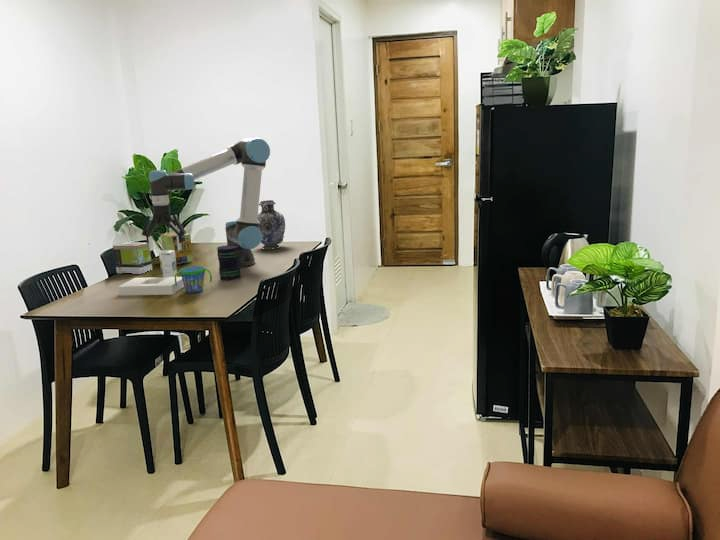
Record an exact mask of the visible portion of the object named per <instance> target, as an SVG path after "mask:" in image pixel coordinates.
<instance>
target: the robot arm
mask: <svg viewBox="0 0 720 540" xmlns="http://www.w3.org/2000/svg"><path fill="white" fill-rule="evenodd" d="M270 155H271V148H270V145H269V144H268V142H267V141H266V140H265V139H262V138H259V137H245V138H243V139H241V140H239V141H238V142H235V143H233V144H231V145H229V146H227V147H226V149H225V150H222V151H221V152H217V153H215V154H213V155H210V156H209V157H206V158H203V159H201V160H199V161H196V162H193V163H192V164H190V165H189V164H188V165H187V166H184V167H182V168H180V169H178V170H175V171H170V172H168V173H167V171H166V170H165V169H160V170H159V169H158V170H151V171H150V172H149V178H148V179H149V182H148V183H149V185H150V186H149V188H150V194H151V196H150V197H151V203H152V213H153V215H151V214H149V215H148V214H147V215H146V221H145V224H144V227H143V230H142V233H141V236H144V237H146V243H147V244H149V249H150V252H152V251H154V239H153V235H152V233H154V231H155V230H156V228H157V227H158V226H161V225H163V226H166V225H167V226H169V228H170V229H172V232H175V233H176V234H177V235H178V236H177V246H178V250H181V249H182V247H181V243H182V242H183V238H182V236H183V235H184V234H186V233H187V232H186V230H185V228H184V226H183V224H182V222H181V221H180V219H179V217H178V214H174V215H171V206H170V197H169V192H172V191H188V190H192V189H194V188H195V181H197V180H198V179H201V178H203V177H206V176H208V175H210V174H212V173H213V174H214V173H215V172H217V171H219V170H221V169H224V168H226V167H229V166H231V165H235V166H236V165H238V164H241V166H242V167H243V180H242V191H241V202H240V213H239V218H237V219H236V220H231V221H227V222H226V223H225V228H224V229H225V237H226V245H237V246H238V251H239V266H240V268H241V267H242V268H243V266H245V267H248V265H250V266H252V264H253V265H255V264H256V259H255V256H254V253H253V251H252V249H255V248H257V247H259V245H260V244H262V243H261V241H262V233H261V231H260V222H259V220H258V213H259V206H260V205H259V204H260V196H261V195H260V194H261V184H262V183H261V182H262V171H263V170H264V169H266V165H267V160H269V157H270ZM153 220H154V222H153V223H152V221H153ZM172 220H173V221H172ZM173 222H174V223H173ZM151 223H152V224H151ZM150 225H151V226H150ZM254 263H255V264H254Z"/></svg>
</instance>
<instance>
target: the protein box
mask: <svg viewBox="0 0 720 540" xmlns="http://www.w3.org/2000/svg"><path fill="white" fill-rule="evenodd" d="M177 236H178V235H177V234H176V233H175V232H174V231H171V232H165V233H160V238H161V239H160V241H161V247H162V251H165V250H174V251H175V257H176V266H177V265H178V264H179V265H184V264H188V263H189V264H190V263H193V262H194V256H193V247H192V239H191V233H187V232H186V234H184V235H183V236H182V238H183V242H182V243H181V247H182V249H181V250H178V246H177ZM183 263H184V264H183Z"/></svg>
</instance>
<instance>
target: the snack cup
mask: <svg viewBox="0 0 720 540" xmlns="http://www.w3.org/2000/svg"><path fill="white" fill-rule="evenodd" d="M206 271H207V272H208V274H209V276H210V277H209V282H210V283H212V282H213V279H212V278H213V277H212V276H213V275H212V273H211V271H210V270H209V269H207V268H206V267H204V266H202V265H201V266H200V265H199V266H198V265H197V266H196V265H195V266H185V267H182V268H180V269H179V270H177V273H176V274H175V284H176V286H177V283H176V275H177V276H178V275H179V274H180V276H181V277H182V280H183V284H184V287H183V288H184V290H185V292H186V293H190V294H192V293H193V294H194V293H200V292H202V291H203V290H204V284H205V283H204V279H205V273H206Z"/></svg>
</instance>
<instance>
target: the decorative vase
mask: <svg viewBox="0 0 720 540" xmlns="http://www.w3.org/2000/svg"><path fill="white" fill-rule="evenodd" d="M275 205H276V202H275V201H274V200H272V199H268V200H262V201H259V206H260V207H261V212H258V220H259V222H260V231H261V233H262V241H261V243H260V244H263V246H262V248H264V249H272V248H278V247H279V246H280V244H281V243H283V242H284V238H285V232H286V220H285V217H284V215H283V214H282V213H281V212H279V211H276V210H275ZM264 249H263V250H264Z"/></svg>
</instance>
